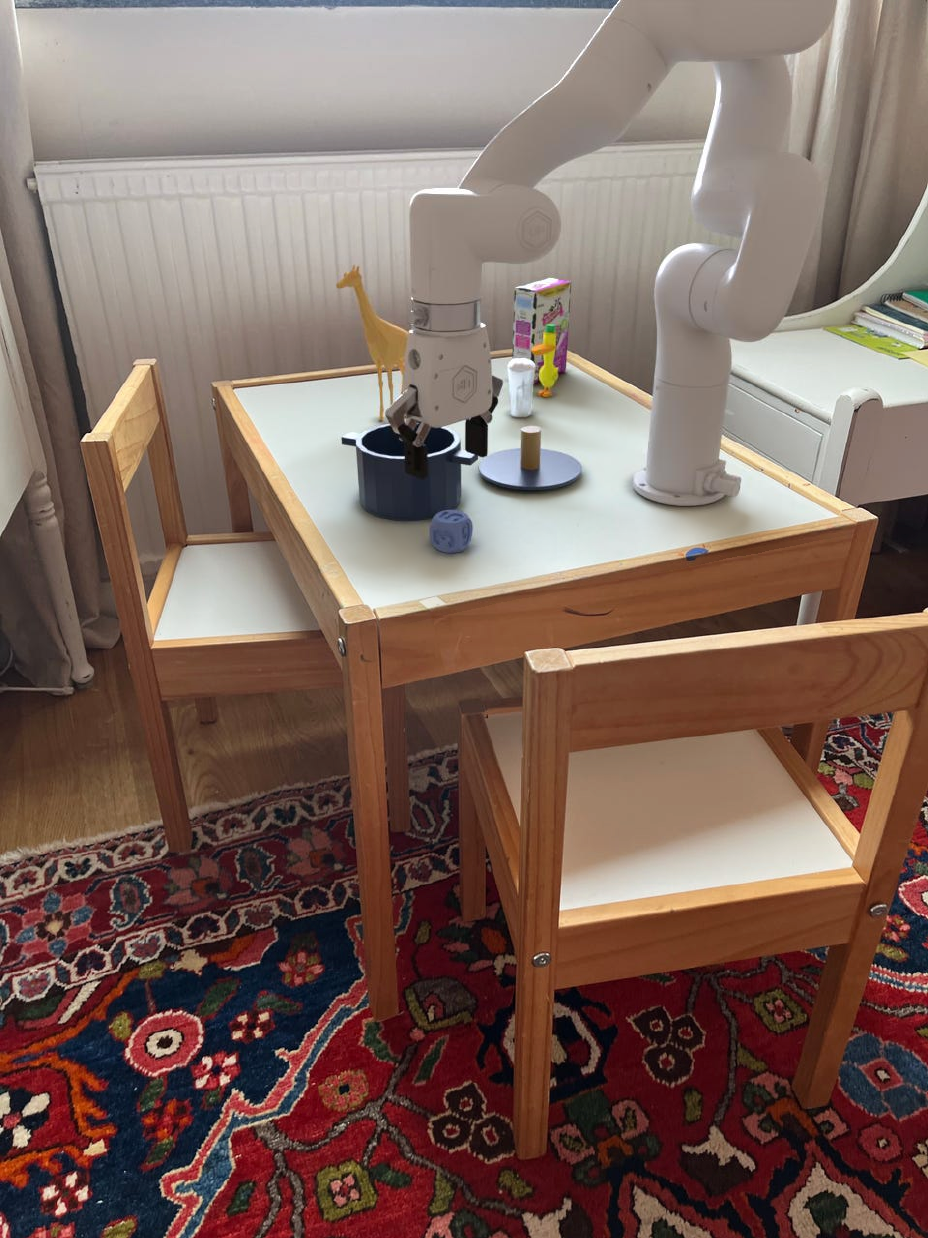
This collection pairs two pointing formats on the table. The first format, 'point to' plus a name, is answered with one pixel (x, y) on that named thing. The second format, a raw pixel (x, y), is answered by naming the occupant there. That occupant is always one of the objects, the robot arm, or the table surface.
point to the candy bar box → (541, 320)
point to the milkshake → (521, 386)
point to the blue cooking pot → (399, 492)
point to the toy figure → (547, 359)
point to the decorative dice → (451, 531)
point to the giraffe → (379, 336)
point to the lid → (530, 465)
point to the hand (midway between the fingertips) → (447, 464)
